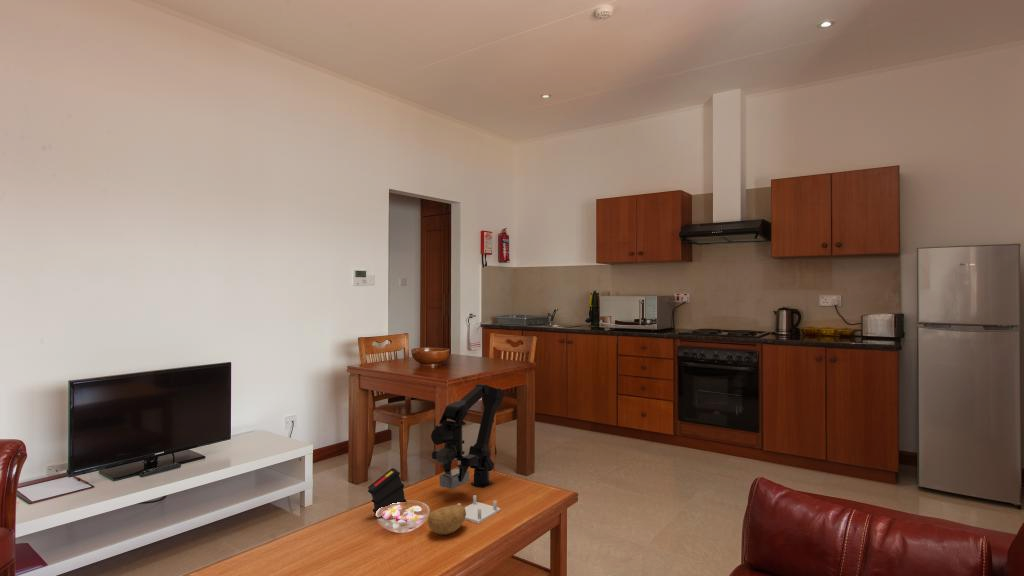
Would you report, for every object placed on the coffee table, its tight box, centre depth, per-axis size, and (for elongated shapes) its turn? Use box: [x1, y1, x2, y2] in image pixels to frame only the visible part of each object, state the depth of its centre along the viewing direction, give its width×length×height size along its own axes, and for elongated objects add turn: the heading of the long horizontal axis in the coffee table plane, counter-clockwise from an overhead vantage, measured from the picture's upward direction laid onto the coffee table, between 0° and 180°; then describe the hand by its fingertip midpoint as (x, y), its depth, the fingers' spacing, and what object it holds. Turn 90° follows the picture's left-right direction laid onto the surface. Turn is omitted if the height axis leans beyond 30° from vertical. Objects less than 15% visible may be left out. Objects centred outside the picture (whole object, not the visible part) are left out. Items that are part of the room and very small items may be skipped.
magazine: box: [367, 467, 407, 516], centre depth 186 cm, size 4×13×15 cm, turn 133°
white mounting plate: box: [456, 494, 501, 524], centre depth 186 cm, size 13×11×4 cm
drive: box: [439, 467, 470, 490], centre depth 200 cm, size 10×6×4 cm, turn 146°
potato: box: [427, 504, 466, 536], centre depth 171 cm, size 10×14×8 cm
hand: (454, 479), depth 200 cm, fingers closed on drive, 6 cm apart
